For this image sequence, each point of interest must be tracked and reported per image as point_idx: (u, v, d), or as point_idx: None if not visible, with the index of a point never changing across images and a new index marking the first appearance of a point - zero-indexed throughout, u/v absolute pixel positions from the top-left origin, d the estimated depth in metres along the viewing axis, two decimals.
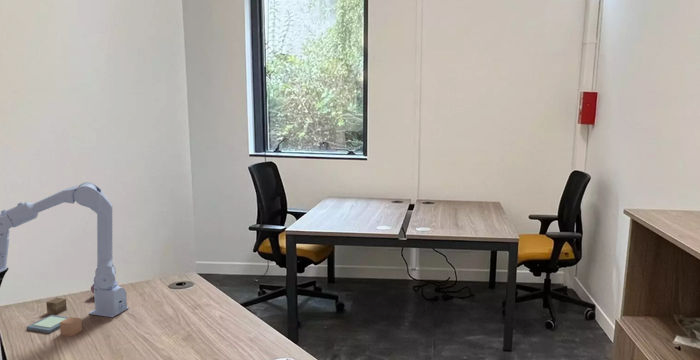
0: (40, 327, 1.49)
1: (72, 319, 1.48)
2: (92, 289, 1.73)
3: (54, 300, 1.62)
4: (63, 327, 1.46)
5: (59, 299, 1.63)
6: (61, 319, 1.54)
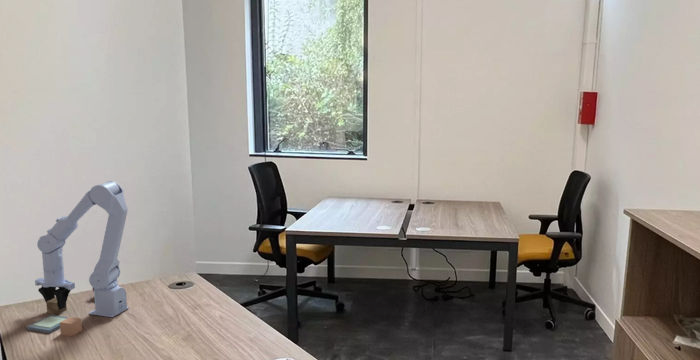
0: (40, 327, 1.49)
1: (72, 319, 1.48)
2: None
3: (54, 300, 1.62)
4: (63, 327, 1.46)
5: None
6: (61, 319, 1.54)
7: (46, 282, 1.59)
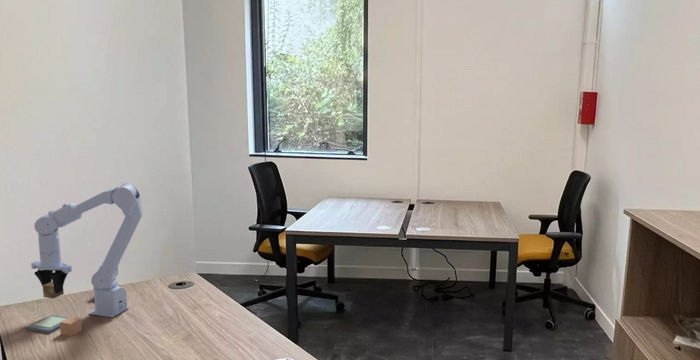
0: (40, 327, 1.49)
1: (72, 319, 1.48)
2: None
3: (51, 283, 1.58)
4: (63, 327, 1.46)
5: None
6: (61, 319, 1.54)
7: (42, 265, 1.54)
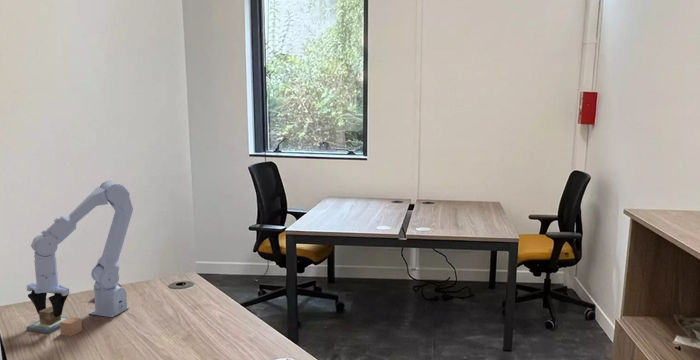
0: (40, 327, 1.49)
1: (72, 319, 1.48)
2: None
3: (48, 309, 1.52)
4: (63, 327, 1.46)
5: (52, 308, 1.53)
6: (61, 319, 1.54)
7: (38, 288, 1.48)
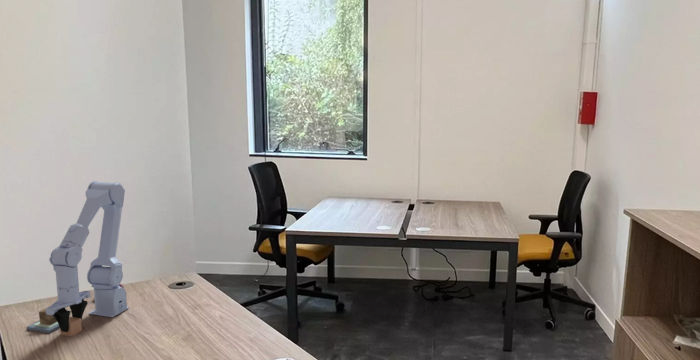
0: (40, 327, 1.49)
1: (72, 319, 1.48)
2: None
3: None
4: None
5: None
6: None
7: (75, 299, 1.45)
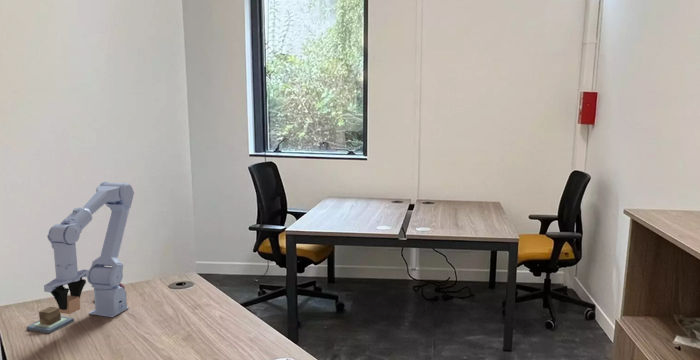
0: (40, 327, 1.49)
1: (70, 297, 1.47)
2: None
3: (48, 309, 1.52)
4: None
5: (52, 308, 1.53)
6: (61, 319, 1.54)
7: (73, 276, 1.44)
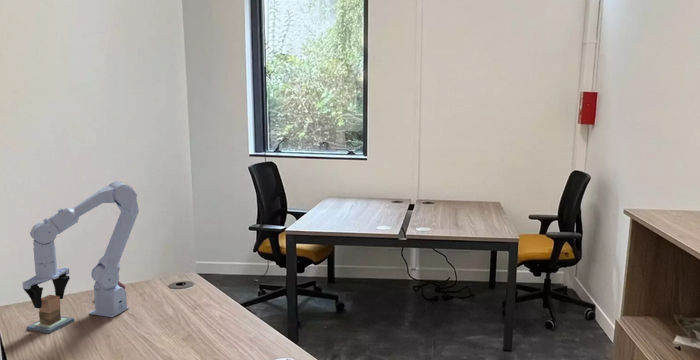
0: (40, 327, 1.49)
1: (51, 297, 1.52)
2: None
3: None
4: None
5: None
6: (61, 319, 1.54)
7: (52, 274, 1.49)
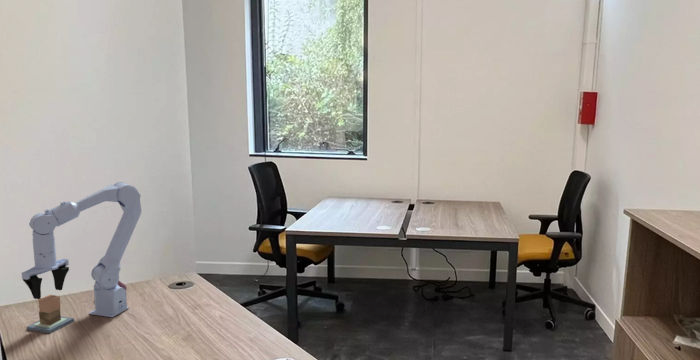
0: (40, 327, 1.49)
1: (51, 297, 1.52)
2: None
3: None
4: (41, 304, 1.50)
5: None
6: (61, 319, 1.54)
7: (51, 265, 1.48)
